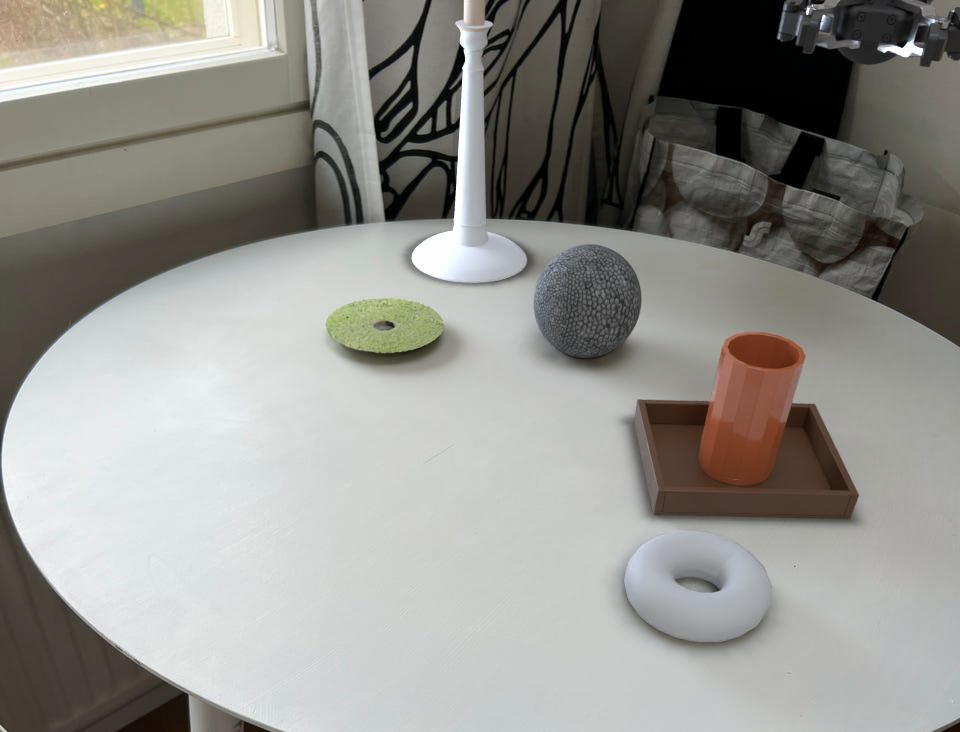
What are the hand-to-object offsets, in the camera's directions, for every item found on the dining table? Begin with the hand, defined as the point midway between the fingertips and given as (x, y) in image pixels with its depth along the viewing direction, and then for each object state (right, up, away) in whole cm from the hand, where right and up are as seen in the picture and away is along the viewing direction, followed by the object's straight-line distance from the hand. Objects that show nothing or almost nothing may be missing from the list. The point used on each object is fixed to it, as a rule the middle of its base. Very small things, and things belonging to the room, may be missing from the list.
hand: (869, 44), depth 70 cm
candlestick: (-30, -2, +36) cm, 47 cm away
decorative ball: (-19, -16, +22) cm, 33 cm away
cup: (-8, -30, +7) cm, 32 cm away
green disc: (-38, -15, +22) cm, 47 cm away
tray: (-8, -30, +8) cm, 32 cm away
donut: (-14, -42, -4) cm, 44 cm away
